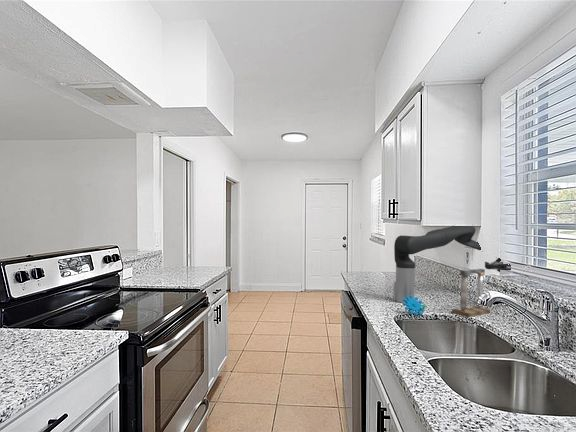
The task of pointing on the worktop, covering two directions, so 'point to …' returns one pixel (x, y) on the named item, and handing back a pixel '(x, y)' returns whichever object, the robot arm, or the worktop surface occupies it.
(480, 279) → the clear glass tube
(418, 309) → the gear
